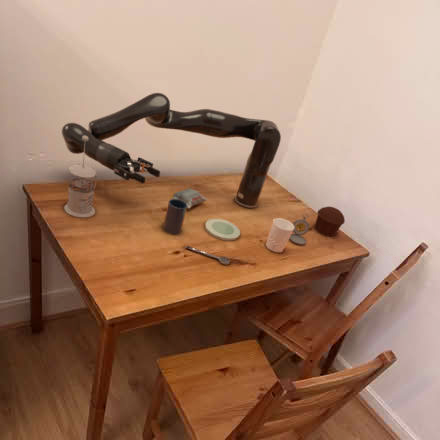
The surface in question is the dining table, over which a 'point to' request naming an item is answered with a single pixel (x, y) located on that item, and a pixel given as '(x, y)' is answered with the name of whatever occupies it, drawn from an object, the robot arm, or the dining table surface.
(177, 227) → the tumbler
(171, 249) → the dining table surface
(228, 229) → the side plate
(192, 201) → the packaged food
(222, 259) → the spoon
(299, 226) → the pocket watch
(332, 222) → the muffin
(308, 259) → the dining table surface
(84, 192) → the french press
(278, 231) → the white cup
